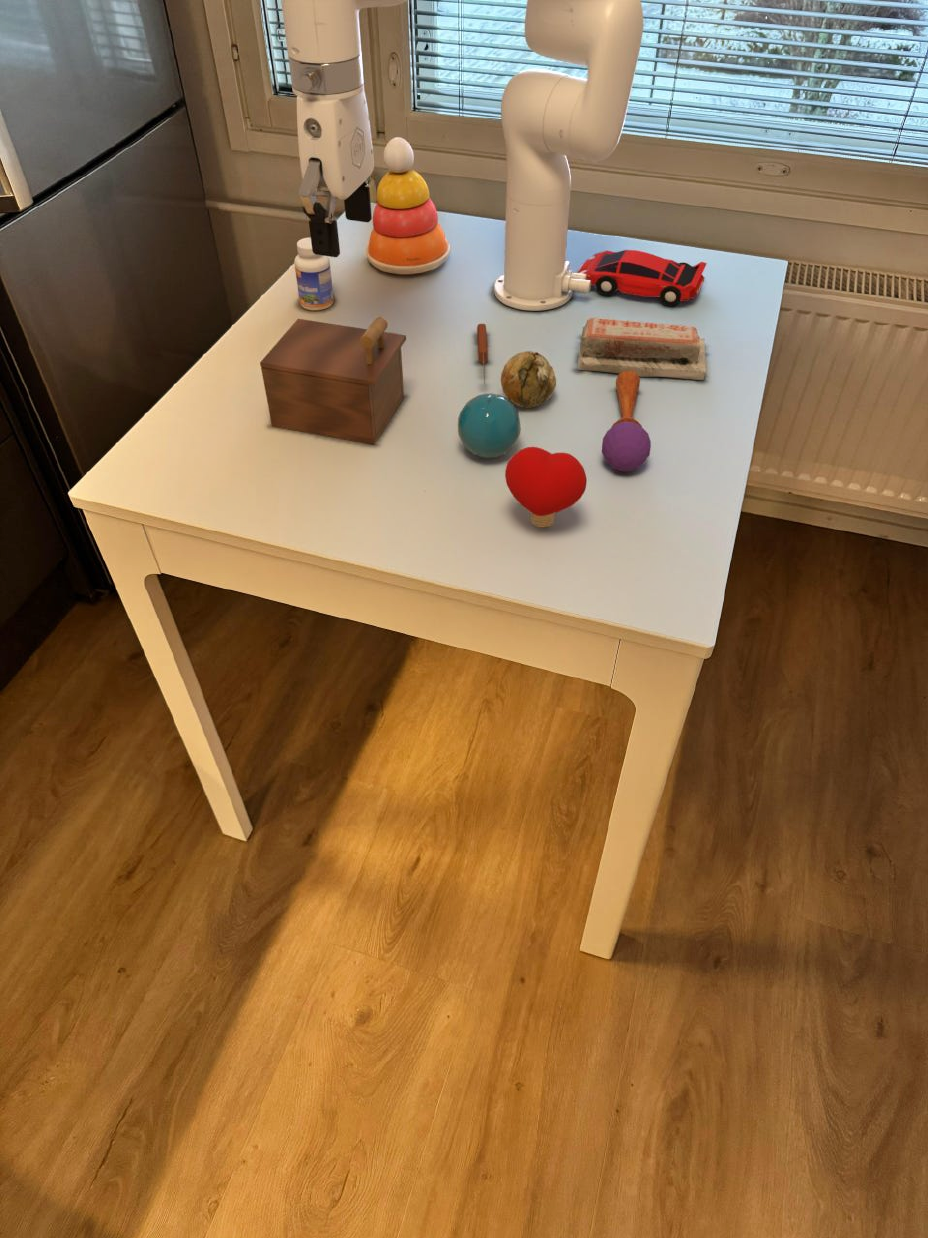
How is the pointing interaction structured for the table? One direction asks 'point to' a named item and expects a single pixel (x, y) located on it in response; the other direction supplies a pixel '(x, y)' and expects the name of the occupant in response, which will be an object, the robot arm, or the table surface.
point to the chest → (334, 403)
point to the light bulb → (545, 482)
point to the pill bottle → (313, 277)
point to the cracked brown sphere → (528, 379)
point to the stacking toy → (405, 218)
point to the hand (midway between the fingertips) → (343, 236)
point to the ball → (489, 425)
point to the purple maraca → (626, 429)
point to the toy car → (643, 275)
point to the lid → (335, 351)
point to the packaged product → (642, 349)
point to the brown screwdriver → (482, 345)
